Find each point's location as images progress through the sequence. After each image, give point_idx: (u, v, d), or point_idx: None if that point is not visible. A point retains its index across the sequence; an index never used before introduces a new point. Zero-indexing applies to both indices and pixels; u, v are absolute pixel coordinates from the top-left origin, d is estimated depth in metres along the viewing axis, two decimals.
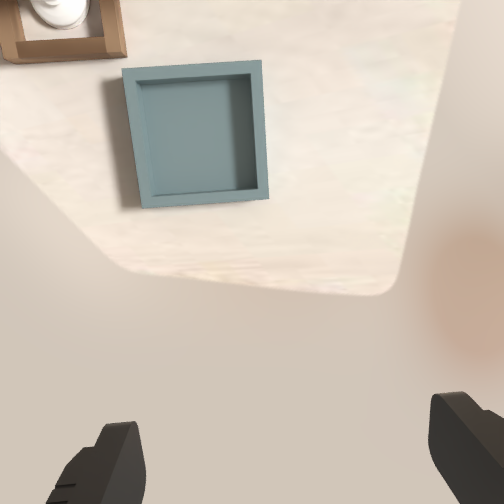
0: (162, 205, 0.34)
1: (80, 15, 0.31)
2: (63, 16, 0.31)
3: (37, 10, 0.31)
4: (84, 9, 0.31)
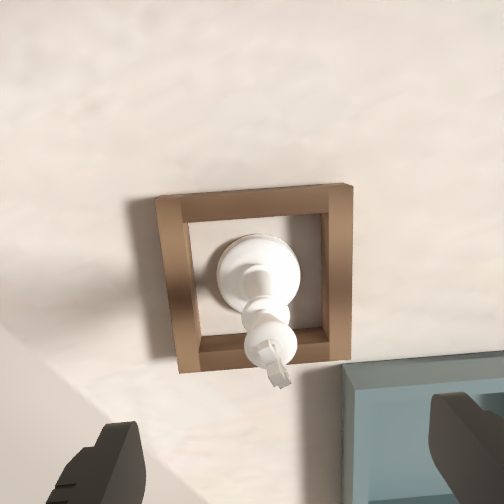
0: None
1: (289, 302, 0.21)
2: None
3: (228, 300, 0.21)
4: None
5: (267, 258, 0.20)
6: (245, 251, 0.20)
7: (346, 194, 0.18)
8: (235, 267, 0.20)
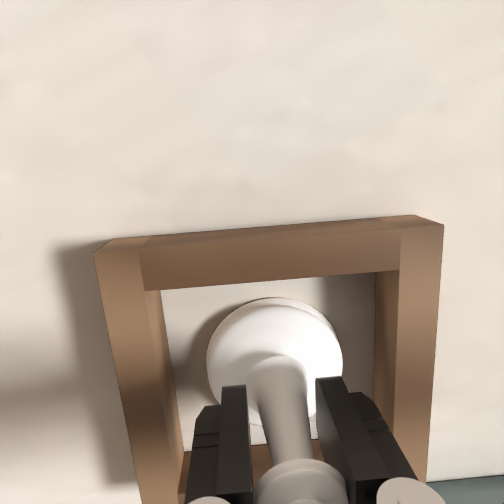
0: None
1: None
2: None
3: None
4: None
5: (290, 342, 0.12)
6: (254, 331, 0.12)
7: (431, 239, 0.10)
8: (237, 356, 0.12)
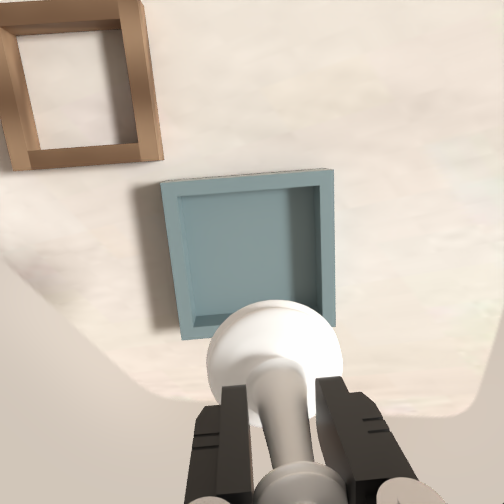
0: (206, 336, 0.28)
1: None
2: None
3: None
4: None
5: (290, 344, 0.12)
6: (254, 333, 0.12)
7: (132, 2, 0.22)
8: (237, 358, 0.12)
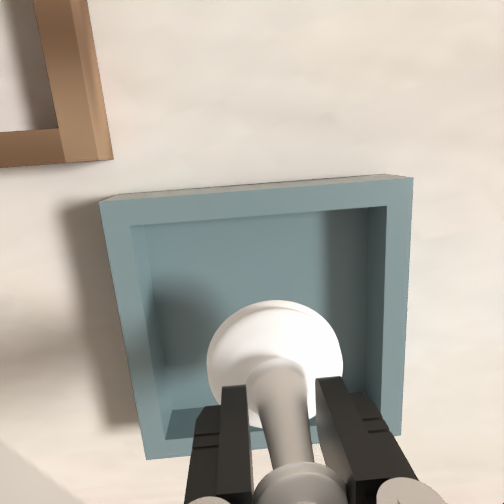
0: (187, 453, 0.17)
1: None
2: None
3: None
4: None
5: (290, 344, 0.12)
6: (254, 333, 0.12)
7: None
8: (237, 359, 0.12)
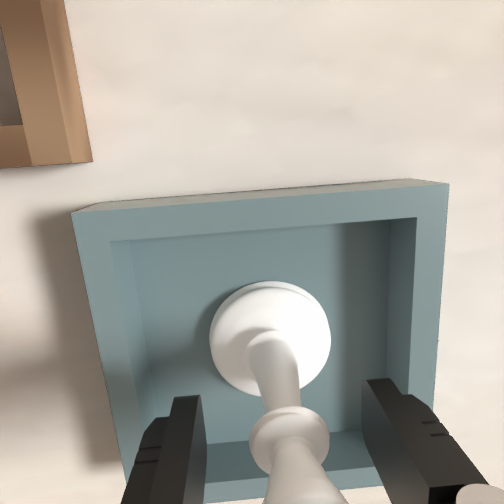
0: None
1: None
2: None
3: (227, 377, 0.14)
4: None
5: (284, 319, 0.13)
6: (252, 309, 0.13)
7: None
8: (237, 332, 0.14)
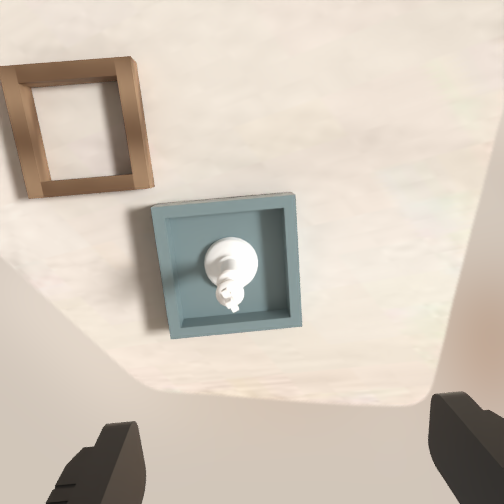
0: (191, 335, 0.33)
1: (251, 280, 0.33)
2: None
3: (212, 279, 0.33)
4: (254, 274, 0.33)
5: (235, 251, 0.32)
6: (221, 248, 0.32)
7: (126, 62, 0.28)
8: (215, 258, 0.32)
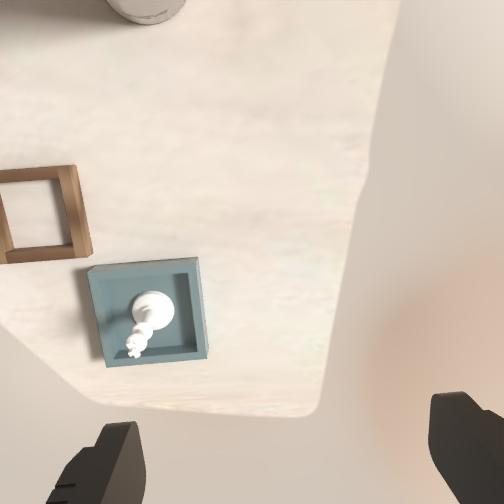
0: (122, 365, 0.43)
1: (168, 323, 0.43)
2: (157, 326, 0.43)
3: (138, 323, 0.43)
4: (171, 319, 0.43)
5: (154, 303, 0.42)
6: (144, 300, 0.42)
7: (66, 169, 0.38)
8: (139, 307, 0.42)
